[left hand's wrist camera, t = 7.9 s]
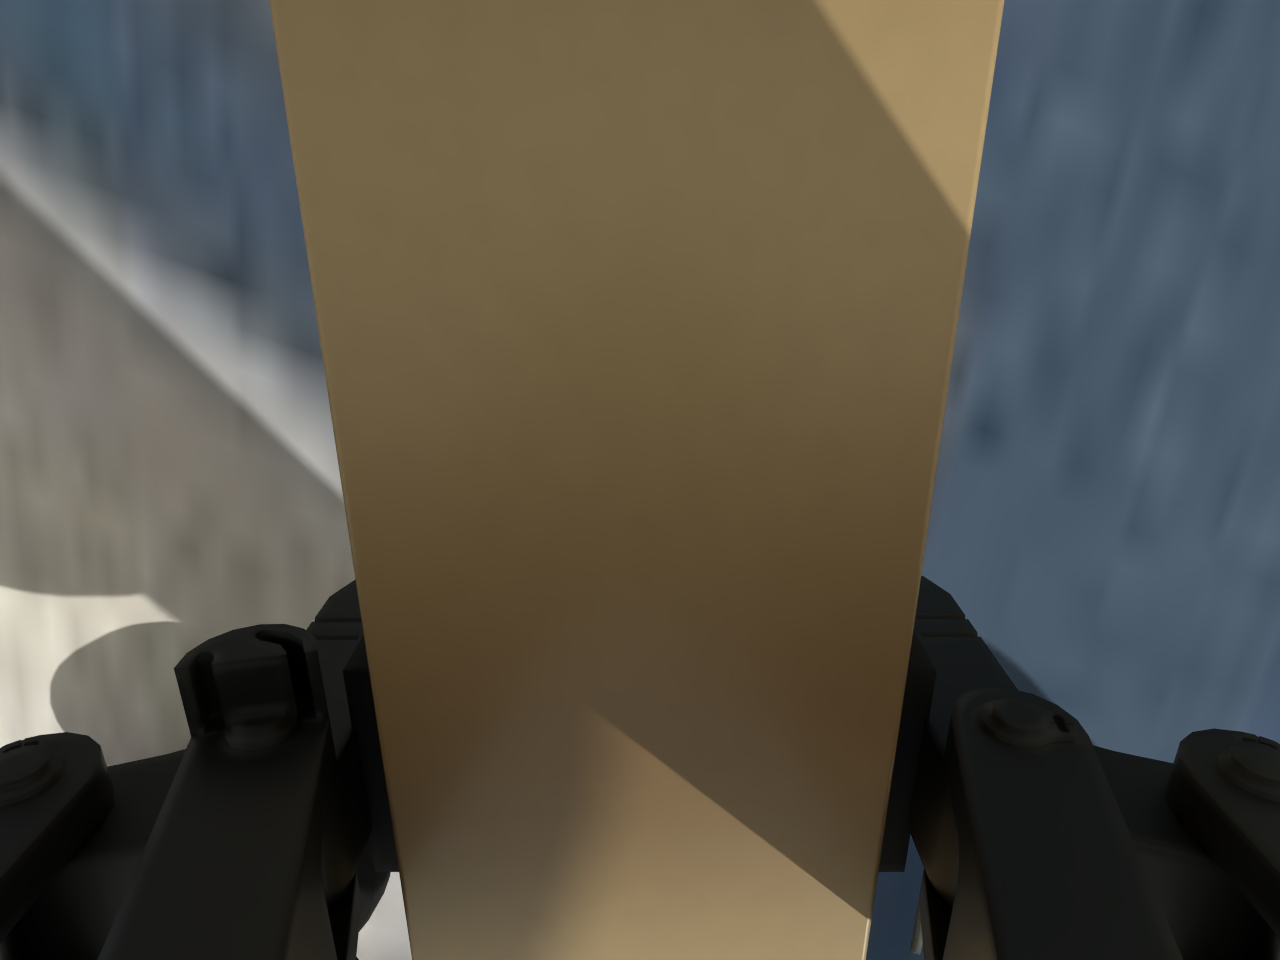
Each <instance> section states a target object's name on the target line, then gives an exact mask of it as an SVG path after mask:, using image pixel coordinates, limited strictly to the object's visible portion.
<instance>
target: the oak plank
mask: <svg viewBox="0 0 1280 960" xmlns="http://www.w3.org/2000/svg"><path fill="white" fill-rule="evenodd" d="M269 1H270V8H271V15H272V21H273V28H274V35H275V41H276V48H277V55H278V62H279V68H280V75H281V82H282V88H283V95H284V102H285V109H286V115H287V122H288V129H289V135H290V142H291V149H292V156H293V162H294V169H295V176H296V182H297V189H298V196H299V202H300V209H301V216H302V223H303V229H304V236H305V243H306V249H307V256H308V263H309V270H310V276H311V283H312V290H313V296H314V303H315V310H316V317H317V323H318V330H319V337H320V343H321V350H322V357H323V363H324V370H325V377H326V384H327V390H328V397H329V404H330V410H331V417H332V424H333V431H334V437H335V444H336V451H337V457H338V464H339V471H340V477H341V484H342V491H343V498H344V504H345V511H346V518H347V524H348V531H349V538H350V545H351V551H352V558H353V565H354V571H355V578H356V585H357V592H358V598H359V605H360V612H361V618H362V625H363V632H364V638H365V645H366V652H367V659H368V665H369V672H370V679H371V685H372V692H373V699H374V706H375V712H376V719H377V726H378V732H379V739H380V746H381V752H382V759H383V766H384V773H385V779H386V786H387V793H388V799H389V806H390V813H391V820H392V826H393V833H394V840H395V846H396V853H397V860H398V867H399V873H400V880H401V887H402V893H403V900H404V907H405V913H406V920H407V927H408V934H409V940H410V947H411V954H412V960H866V954H867V947H868V940H869V933H870V926H871V919H872V912H873V905H874V899H875V892H876V885H877V878H878V871H879V864H880V857H881V850H882V843H883V836H884V829H885V822H886V816H887V809H888V802H889V795H890V788H891V781H892V774H893V767H894V760H895V753H896V746H897V739H898V733H899V726H900V719H901V712H902V705H903V698H904V691H905V684H906V677H907V670H908V663H909V656H910V650H911V643H912V636H913V629H914V622H915V615H916V608H917V601H918V594H919V587H920V580H921V573H922V567H923V560H924V553H925V546H926V539H927V532H928V525H929V518H930V511H931V504H932V497H933V491H934V484H935V477H936V470H937V463H938V456H939V449H940V442H941V435H942V428H943V421H944V414H945V408H946V401H947V394H948V387H949V380H950V373H951V366H952V359H953V352H954V345H955V338H956V331H957V325H958V318H959V311H960V304H961V297H962V290H963V283H964V276H965V269H966V262H967V255H968V248H969V242H970V235H971V228H972V221H973V214H974V207H975V200H976V193H977V186H978V179H979V172H980V165H981V159H982V152H983V145H984V138H985V131H986V124H987V117H988V110H989V103H990V96H991V89H992V82H993V76H994V69H995V62H996V55H997V48H998V41H999V34H1000V27H1001V20H1002V13H1003V6H1004V0H269Z"/></svg>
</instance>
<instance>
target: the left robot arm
mask: <svg viewBox="0 0 1280 960" xmlns="http://www.w3.org/2000/svg"><path fill="white" fill-rule="evenodd" d="M174 670H175V674H176V678H177V682H178V686H179V690H180V694H181V698H182V702H183V706H184V710H185V714H186V718H187V722H188V725H189V729H190V733H191V739H190V742H189V744H188V746H187V749H185V750H181V751H177V752H174V753H170V754H166V755H162V756H157V757H152V758H147V759H143V760H138V761H133V762H128V763H124V764H119V765H114V766H109V767H107V766H106V763H105V759H104V756H103V753H102V750H101V746H100V745H99V744H98V743H97V742H95V741H94V740H93V739H92V738H90V737H89V736H87V735H80V734H74V733H68V732H65V733H56V734H47V735H38V736H35V737H30V738H26V739H25V740H22V741H21V740H19V741H16V742H13V743H10V744H7V745H5V746H3V747H2V748H0V960H356V952H357V942H358V932H359V922H360V913H361V897H360V891H359V885H358V879H357V873H356V869H357V866H358V864H359V861H360V859H361V856H362V854H363V851H364V849H365V846H366V844H367V841H368V838H369V836H370V842H371V848H372V854H373V860H374V867H375V872H399V867H398V860H397V853H396V846H395V840H394V833H393V826H392V820H391V813H390V806H389V799H388V793H387V786H386V779H385V773H384V766H383V759H382V752H381V746H380V739H379V732H378V726H377V719H376V712H375V706H374V699H373V692H372V685H371V679H370V672H369V665H368V659H367V652H366V645H365V638H364V632H363V625H362V618H361V612H360V605H359V598H358V592H357V585H356V580H354V581H353V582H351V583H350V584H348V585H347V586H345V587H344V588H342V589H341V590H339V591H338V592H336V593H335V594H333V595H332V596H330V597H329V599H328V600H327V601H326V603H325V604H324V606H323V607H322V609H321V610H320V611H319V613H318V614H317V616H316V617H315V622H312V623H311V624H310V626H309V627H308V629H307V630H305V629H303V628H299V627H295V626H291V625H286V624H260V625H255V626H250V627H245V628H240V629H235V630H232V631H229V632H227V633H224V634H222V635H219V636H216V637H214V638H211V639H209V640H207V641H205V642H204V643H202V644H200V645H199V646H197V647H196V648H194V649H193V650H191V651H189V652H188V653H187V654H186V655H185V656H184V657H183V658H182V659H181V661H180V662H179V663H178V664H177V665H176V666H175V668H174ZM910 833H911V836H912V838H913V841H914V843H915V846H916V848H917V851H918V853H919V856H920V858H921V861H922V863H923V866H924V873H923V879H922V885H921V890H920V896H919V902H918V908H917V913H916V919H915V925H914V931H913V936H912V943H911V949H910V953H913V954H918V955H921V950H922V944H923V950H924V960H1280V744H1279V743H1277V742H1275V741H1272V740H1270V739H1267V738H1264V737H1261V736H1260V737H1258V736H1256V735H1253V734H1249V733H1244V732H1239V731H1230V730H1221V729H1209V730H1203V731H1196V732H1192V733H1191V734H1189V735H1188V736H1187V737H1186V738H1184V739H1183V740H1182V741H1181V742H1180V744H1179V747H1178V751H1177V754H1176V757H1175V760H1174V764H1173V763H1168V762H1163V761H1159V760H1154V759H1149V758H1144V757H1139V756H1135V755H1130V754H1125V753H1120V752H1115V751H1112V750H1108V749H1104V748H1101V747H1097V746H1093V745H1092V742H1091V740H1090V738H1089V736H1088V734H1087V733H1086V732H1085V730H1084V729H1083V727H1082V726H1081V725H1080V723H1079V722H1078V720H1077V719H1075V718H1074V717H1073V716H1071V715H1070V714H1069V713H1067V712H1066V711H1065V710H1063V709H1062V708H1060V707H1059V706H1058V705H1056V704H1054V703H1051V702H1049V701H1047V700H1045V699H1042V698H1040V697H1038V696H1036V695H1033V694H1030V693H1026V692H1021V691H1018V689H1017V688H1016V687H1015V685H1014V684H1013V682H1012V681H1011V680H1010V678H1009V677H1008V675H1007V674H1006V672H1005V671H1004V670H1003V668H1002V667H1001V665H1000V664H999V663H998V661H997V660H996V658H995V657H994V655H993V654H992V653H991V651H990V650H989V648H988V647H987V646H986V644H985V643H984V641H983V640H982V638H981V637H978V636H977V631H976V630H975V629H974V627H973V626H972V624H971V623H970V621H969V620H968V619H965V614H964V613H963V612H962V610H961V609H960V607H959V606H958V604H957V603H956V602H955V600H954V599H953V597H952V596H951V595H950V594H949V593H948V592H946V591H945V590H943V589H942V588H940V587H939V586H937V585H936V584H934V583H933V582H931V581H930V580H928V579H927V578H925V577H924V576H921V580H920V587H919V594H918V601H917V608H916V615H915V622H914V629H913V636H912V643H911V650H910V656H909V663H908V670H907V677H906V684H905V691H904V698H903V705H902V712H901V719H900V726H899V733H898V739H897V746H896V753H895V760H894V767H893V774H892V781H891V788H890V795H889V802H888V809H887V816H886V822H885V829H884V836H883V843H882V850H881V857H880V864H879V871H878V872H904V870H905V864H906V857H907V851H908V845H909V839H910Z"/></svg>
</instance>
